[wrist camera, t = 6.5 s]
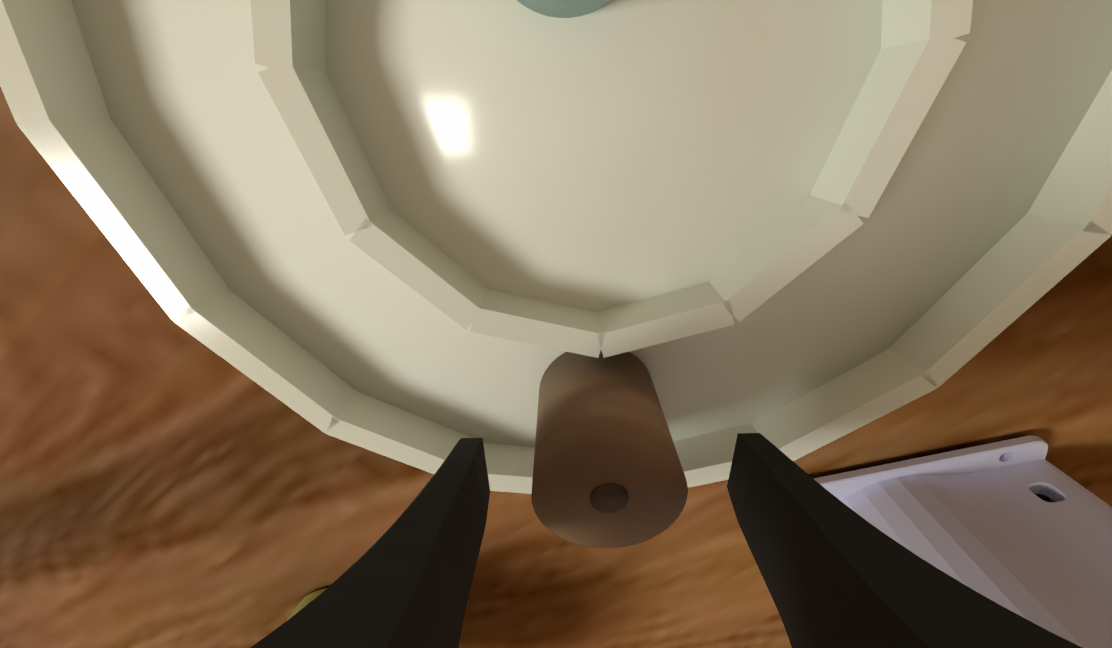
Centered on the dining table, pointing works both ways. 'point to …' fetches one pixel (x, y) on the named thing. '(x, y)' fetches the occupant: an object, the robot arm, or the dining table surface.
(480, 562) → the dining table surface
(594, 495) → the walnut bead
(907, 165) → the groove tray
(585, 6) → the teal bead
